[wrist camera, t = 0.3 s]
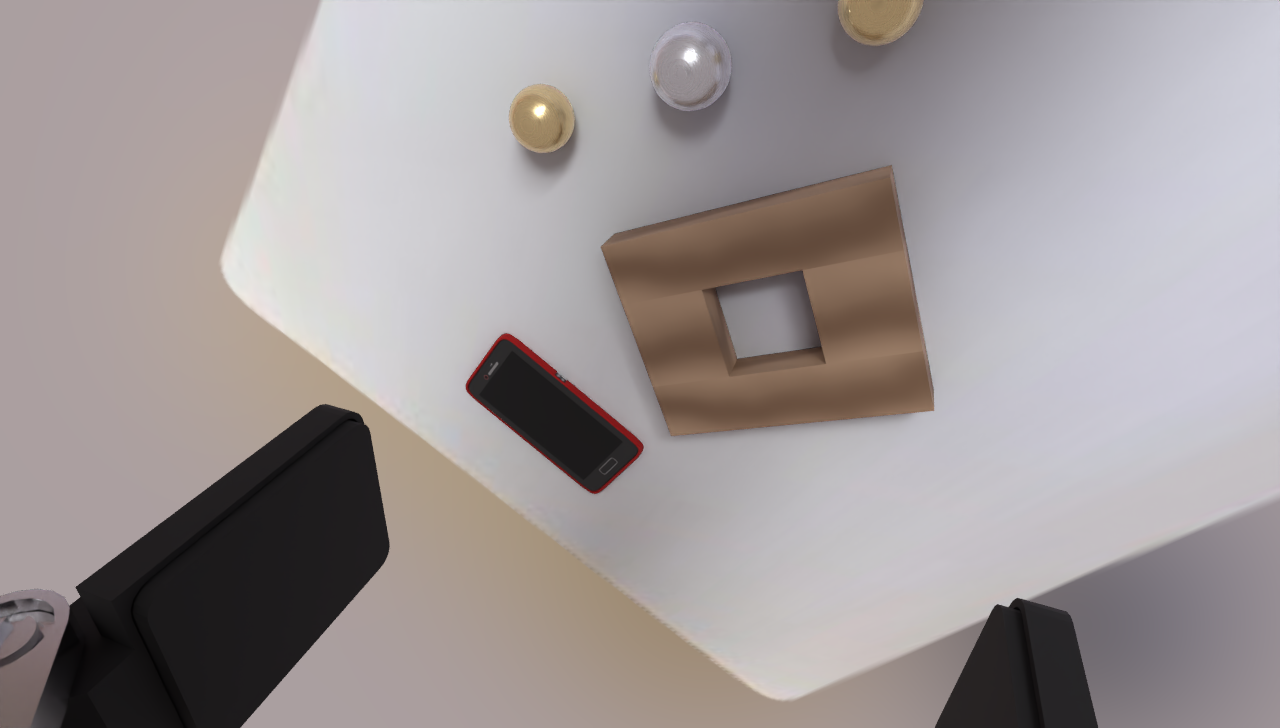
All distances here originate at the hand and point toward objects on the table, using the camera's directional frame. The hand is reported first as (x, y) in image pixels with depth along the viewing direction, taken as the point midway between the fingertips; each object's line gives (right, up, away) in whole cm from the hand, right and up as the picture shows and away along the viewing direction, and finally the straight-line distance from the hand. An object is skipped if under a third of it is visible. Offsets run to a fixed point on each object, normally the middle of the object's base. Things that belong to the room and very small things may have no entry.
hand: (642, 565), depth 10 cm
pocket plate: (+9, +7, +36) cm, 38 cm away
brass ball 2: (+12, +21, +24) cm, 34 cm away
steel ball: (+3, +19, +28) cm, 34 cm away
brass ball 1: (-6, +18, +33) cm, 38 cm away
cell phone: (-7, -1, +48) cm, 48 cm away
